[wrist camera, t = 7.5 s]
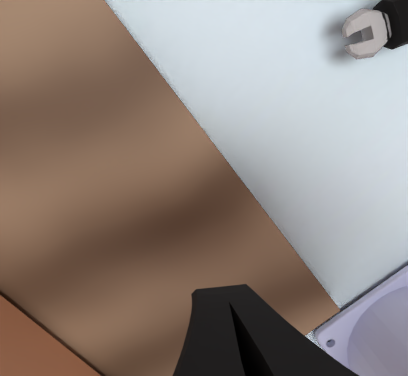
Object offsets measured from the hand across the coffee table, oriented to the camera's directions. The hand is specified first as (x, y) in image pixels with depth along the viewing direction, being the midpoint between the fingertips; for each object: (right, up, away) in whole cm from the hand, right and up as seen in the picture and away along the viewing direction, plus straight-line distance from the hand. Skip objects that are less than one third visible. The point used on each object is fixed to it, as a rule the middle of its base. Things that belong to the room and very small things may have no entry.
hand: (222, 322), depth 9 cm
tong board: (-7, -1, +9) cm, 11 cm away
